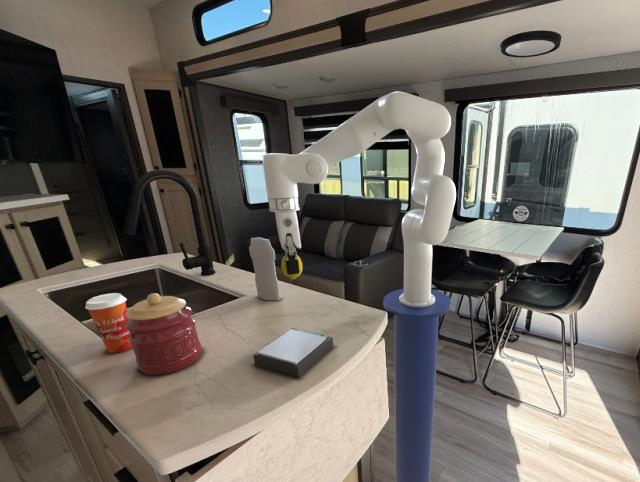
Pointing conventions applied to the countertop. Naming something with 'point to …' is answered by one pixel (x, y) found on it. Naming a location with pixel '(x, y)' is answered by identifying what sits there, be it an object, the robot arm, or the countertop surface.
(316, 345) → the scale
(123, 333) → the paper cup
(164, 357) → the kitchen canister
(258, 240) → the grey stone slab
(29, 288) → the countertop surface
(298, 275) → the lemon
